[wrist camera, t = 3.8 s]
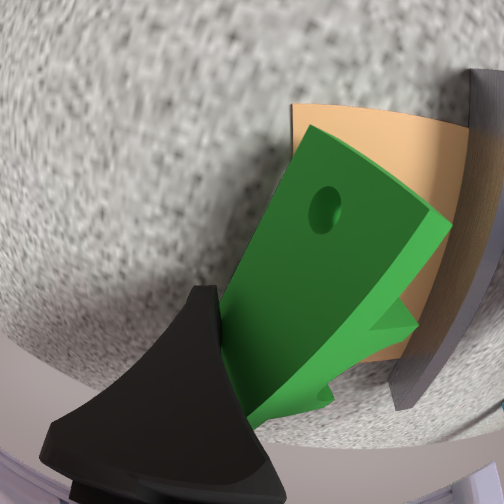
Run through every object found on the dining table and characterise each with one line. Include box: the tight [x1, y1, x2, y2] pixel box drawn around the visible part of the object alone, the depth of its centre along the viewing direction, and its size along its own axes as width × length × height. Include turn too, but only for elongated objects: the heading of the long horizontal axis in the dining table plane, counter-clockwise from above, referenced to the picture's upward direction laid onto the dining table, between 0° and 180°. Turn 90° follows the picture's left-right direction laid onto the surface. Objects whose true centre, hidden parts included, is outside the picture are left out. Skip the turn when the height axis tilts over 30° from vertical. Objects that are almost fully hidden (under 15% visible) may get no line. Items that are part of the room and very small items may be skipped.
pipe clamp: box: [219, 124, 453, 430], centre depth 9 cm, size 11×4×5 cm, turn 156°
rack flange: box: [292, 68, 504, 411], centre depth 10 cm, size 10×18×2 cm, turn 2°
